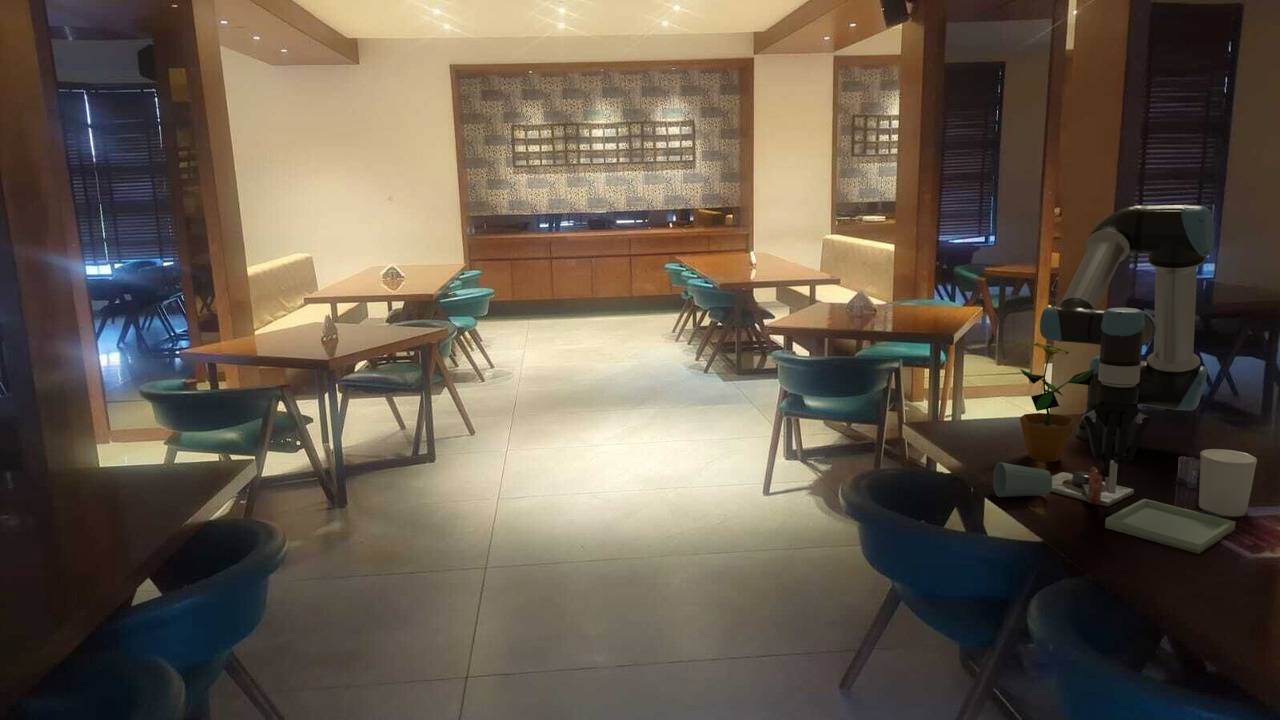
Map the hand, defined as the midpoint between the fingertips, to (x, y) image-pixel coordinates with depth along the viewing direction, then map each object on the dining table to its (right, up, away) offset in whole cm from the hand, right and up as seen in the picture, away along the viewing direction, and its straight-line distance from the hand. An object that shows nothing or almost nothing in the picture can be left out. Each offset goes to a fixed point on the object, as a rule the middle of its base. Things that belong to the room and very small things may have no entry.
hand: (1110, 491), depth 182 cm
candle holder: (+23, -4, -1) cm, 23 cm away
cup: (-11, -4, +8) cm, 14 cm away
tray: (+6, -6, -11) cm, 14 cm away
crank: (-1, -2, +6) cm, 6 cm away
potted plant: (+3, +3, +36) cm, 36 cm away
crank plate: (0, -2, +12) cm, 12 cm away
